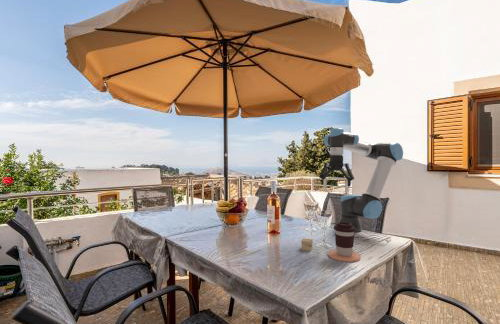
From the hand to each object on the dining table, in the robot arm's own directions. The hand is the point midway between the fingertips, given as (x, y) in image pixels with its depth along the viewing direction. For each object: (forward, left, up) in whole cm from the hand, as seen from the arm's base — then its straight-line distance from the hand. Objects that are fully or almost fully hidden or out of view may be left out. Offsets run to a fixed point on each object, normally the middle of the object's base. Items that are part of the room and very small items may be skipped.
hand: (335, 191), depth 162 cm
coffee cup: (+24, +14, -28) cm, 39 cm away
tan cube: (+26, -5, -29) cm, 39 cm away
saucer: (+24, +14, -29) cm, 40 cm away
